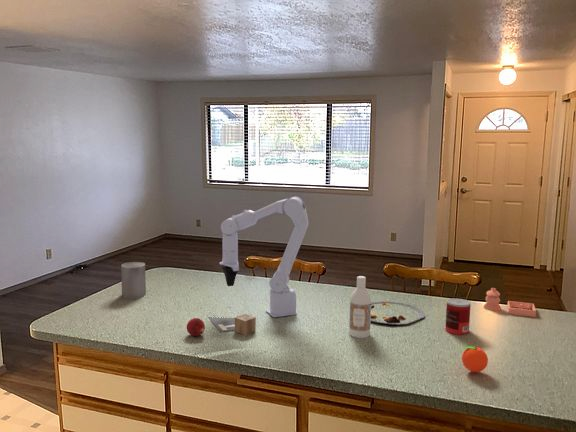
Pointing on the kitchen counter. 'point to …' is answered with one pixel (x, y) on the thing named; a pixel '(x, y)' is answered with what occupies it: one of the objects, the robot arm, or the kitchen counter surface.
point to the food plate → (394, 319)
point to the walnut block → (245, 324)
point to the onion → (195, 327)
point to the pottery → (494, 306)
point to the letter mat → (223, 323)
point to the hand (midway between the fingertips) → (230, 285)
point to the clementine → (474, 359)
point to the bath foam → (360, 310)
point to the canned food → (457, 316)
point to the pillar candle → (133, 280)
